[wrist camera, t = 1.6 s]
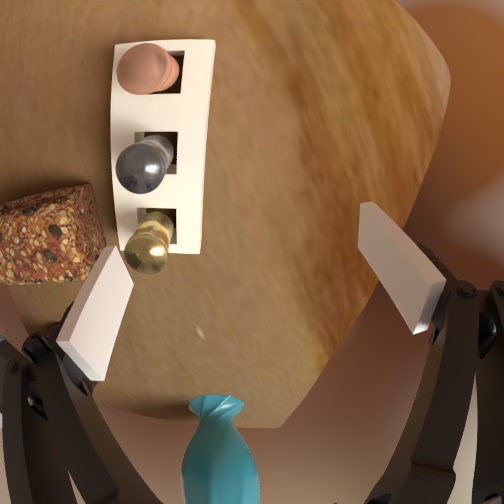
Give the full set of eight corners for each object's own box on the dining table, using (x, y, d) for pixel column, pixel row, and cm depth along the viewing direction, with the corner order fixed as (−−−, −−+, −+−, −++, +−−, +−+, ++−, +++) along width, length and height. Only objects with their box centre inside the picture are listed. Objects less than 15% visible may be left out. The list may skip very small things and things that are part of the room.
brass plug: (140, 243, 31) (127, 272, 26) (137, 209, 29) (121, 235, 24) (175, 244, 32) (168, 275, 27) (175, 210, 29) (166, 236, 25)
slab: (129, 234, 35) (120, 250, 32) (127, 49, 22) (115, 44, 19) (201, 237, 36) (199, 254, 33) (215, 46, 24) (214, 39, 20)
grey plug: (135, 173, 27) (117, 194, 22) (134, 133, 24) (114, 144, 19) (175, 174, 27) (164, 194, 22) (176, 132, 25) (165, 143, 20)
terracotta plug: (135, 94, 22) (114, 96, 17) (139, 53, 20) (119, 45, 15) (179, 92, 23) (167, 93, 18) (183, 51, 20) (173, 41, 16)
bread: (23, 254, 35) (-7, 292, 26) (3, 196, 29) (-35, 228, 20) (112, 248, 36) (87, 294, 28) (94, 176, 30) (57, 210, 22)
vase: (182, 389, 57) (181, 511, 32) (255, 393, 60) (271, 510, 35) (182, 416, 66) (181, 513, 41) (242, 419, 69) (252, 513, 44)
